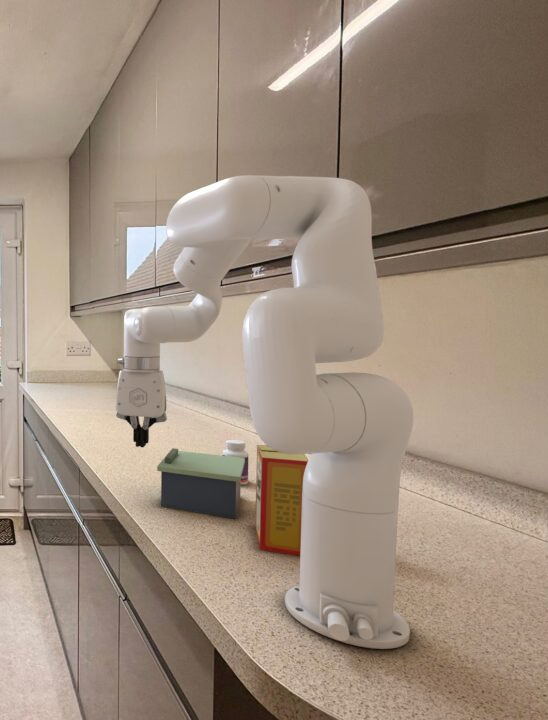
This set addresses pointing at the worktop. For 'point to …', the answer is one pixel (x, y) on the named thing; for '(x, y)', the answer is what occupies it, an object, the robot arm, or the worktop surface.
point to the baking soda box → (279, 500)
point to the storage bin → (200, 494)
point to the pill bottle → (237, 450)
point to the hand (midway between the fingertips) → (140, 445)
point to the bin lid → (202, 465)
